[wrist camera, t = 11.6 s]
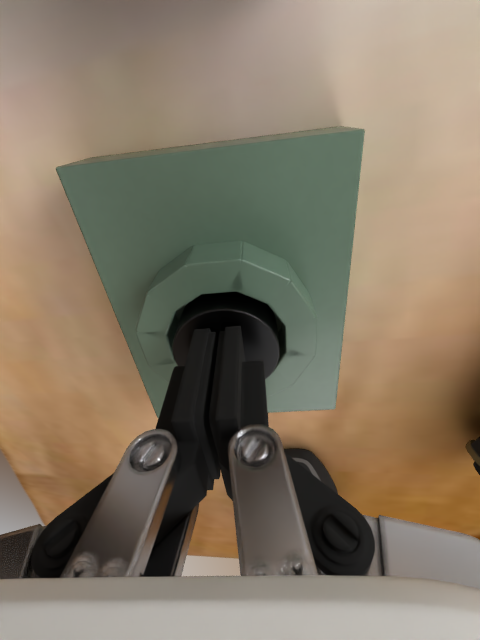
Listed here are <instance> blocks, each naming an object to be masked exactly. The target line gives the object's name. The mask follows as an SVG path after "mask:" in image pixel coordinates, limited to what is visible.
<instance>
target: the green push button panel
mask: <svg viewBox="0 0 480 640" xmlns="http://www.w3.org/2000/svg"><path fill="white" fill-rule="evenodd" d="M364 132H365V131H364V129H359V128H351V127H343V126H340V127H332V128H324V129H316V130H308V131H300V132H292V133H284V134H276V135H268V136H260V137H252V138H244V139H236V140H228V141H220V142H212V143H204V144H196V145H188V146H180V147H172V148H164V149H156V150H148V151H140V152H132V153H124V154H116V155H108V156H100V157H92V158H88V159H84V160H81V161H77V162H73V163H70V164H66V165H62V166H59V167H56V170H57V173H58V175H59V178H60V180H61V183H62V185H63V188H64V190H65V193H66V195H67V197H68V200H69V202H70V205H71V207H72V210H73V212H74V215H75V217H76V219H77V222H78V224H79V227H80V229H81V232H82V234H83V237H84V239H85V241H86V244H87V246H88V249H89V251H90V254H91V256H92V259H93V261H94V263H95V266H96V268H97V271H98V273H99V276H100V278H101V281H102V283H103V285H104V288H105V290H106V293H107V295H108V298H109V300H110V303H111V305H112V307H113V310H114V312H115V315H116V317H117V320H118V322H119V325H120V327H121V329H122V332H123V334H124V337H125V339H126V342H127V344H128V347H129V349H130V351H131V354H132V356H133V359H134V361H135V364H136V366H137V369H138V371H139V373H140V376H141V378H142V381H143V383H144V386H145V388H146V391H147V393H148V395H149V398H150V400H151V403H152V405H153V408H154V410H155V413H156V415H157V417H158V418H159V416H160V412H161V409H162V405H163V402H164V399H165V395H166V392H167V389H168V385H169V382H170V378H171V375H172V372H173V369H174V367H175V366H178V365H177V364H176V361H175V359H174V355H173V348H172V346H173V339H174V336H175V333H176V330H177V327H178V324H179V321H180V318H181V315H182V312H183V310H184V308H185V306H186V305H187V304H188V303H189V302H191V301H192V300H194V299H195V298H197V297H198V296H200V295H201V294H212V293H224V292H239V293H241V294H244V295H246V296H249V297H251V298H254V299H256V300H259V301H261V302H264V303H266V304H268V305H269V307H270V308H271V309H272V310H273V313H274V315H275V318H276V323H277V331H278V339H279V346H280V357H279V361H278V363H277V366H276V368H275V369H274V371H273V372H272V373H271V375H270V376H269V377H268V378H267V379H265V382H266V395H267V410H268V413H270V412H290V411H310V410H330V409H335V408H336V398H337V389H338V379H339V370H340V360H341V351H342V341H343V332H344V322H345V313H346V303H347V294H348V284H349V275H350V265H351V256H352V246H353V237H354V227H355V218H356V208H357V199H358V189H359V180H360V170H361V161H362V151H363V142H364Z"/></svg>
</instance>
